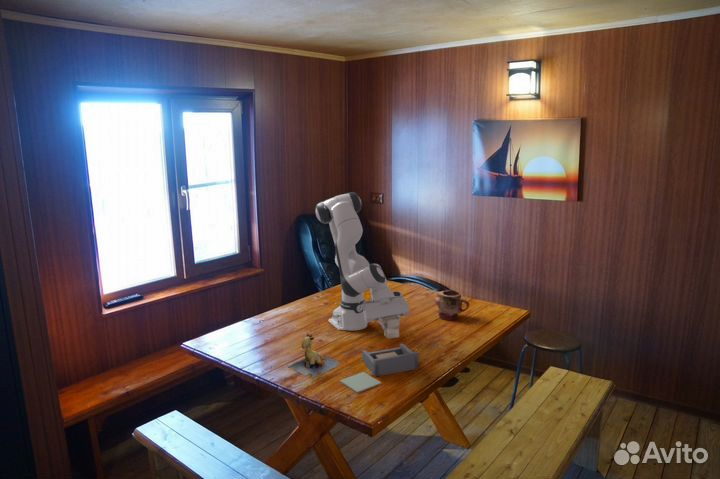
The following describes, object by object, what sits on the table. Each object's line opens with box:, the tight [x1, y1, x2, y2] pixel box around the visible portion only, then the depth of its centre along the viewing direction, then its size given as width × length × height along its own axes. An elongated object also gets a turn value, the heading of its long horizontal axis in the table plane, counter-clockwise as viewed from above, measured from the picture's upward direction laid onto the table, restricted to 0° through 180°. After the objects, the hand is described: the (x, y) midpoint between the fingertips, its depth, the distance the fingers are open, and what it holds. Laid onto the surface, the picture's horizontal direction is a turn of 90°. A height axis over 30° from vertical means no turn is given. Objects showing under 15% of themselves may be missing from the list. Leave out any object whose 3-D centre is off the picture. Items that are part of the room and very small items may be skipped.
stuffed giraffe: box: [287, 332, 341, 379], centre depth 228 cm, size 16×18×16 cm
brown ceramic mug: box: [433, 289, 470, 321], centre depth 281 cm, size 20×12×14 cm, turn 60°
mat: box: [339, 371, 382, 394], centre depth 213 cm, size 12×12×1 cm
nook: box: [361, 343, 419, 378], centre depth 228 cm, size 16×20×7 cm
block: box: [383, 316, 400, 340], centre depth 227 cm, size 4×5×8 cm
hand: (391, 327), depth 226 cm, fingers closed on block, 5 cm apart
